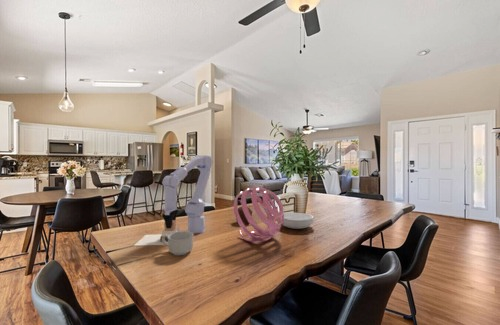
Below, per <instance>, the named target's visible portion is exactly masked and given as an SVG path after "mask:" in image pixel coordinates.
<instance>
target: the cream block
mask: <svg viewBox="0 0 500 325" xmlns="http://www.w3.org/2000/svg"><path fill="white" fill-rule="evenodd" d="M179 231H180V227H179V226H176V228H175V229H174V230H171V231H164V229H162V231H161V234H162V236H164V235H170V234H172V233H174V232H179Z"/></svg>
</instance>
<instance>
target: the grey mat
mask: <svg viewBox="0 0 500 325" xmlns="http://www.w3.org/2000/svg"><path fill="white" fill-rule="evenodd" d="M161 236H162V233H160V234H145V235H144V236H142V238H140V240H138V241H137V242H136V243H135V244H134V245H133V247H135V246H136V247H137V246H166V245H165V244H164V243H163V242H160V237H161ZM167 243H168V242H167Z"/></svg>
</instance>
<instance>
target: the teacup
mask: <svg viewBox="0 0 500 325" xmlns="http://www.w3.org/2000/svg"><path fill="white" fill-rule="evenodd" d="M165 237H167V238H168V243H167V242H166V241H165ZM162 242H163V243H164V244H165V245H164V246H166V247H167V248H168V251H169V252H170V253H172V255H174V256H179V257H180V256H185V255H187V254H188V253H189V252H190V251H191V250H193V246H194V233H191V232H188V231H187V230H181V231H180V230H179V232H174V233H172V234H170V235H164V236H163V237H162Z"/></svg>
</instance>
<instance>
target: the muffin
mask: <svg viewBox="0 0 500 325" xmlns="http://www.w3.org/2000/svg"><path fill="white" fill-rule="evenodd" d="M237 208H238V212H239V215H240V218H241V220H242V222H243V223H244V225H248V224H250V223H249V222H248V220H247V218H246V217H245V214H244V212H243V209H242V206H240V207H237ZM247 208H248V210H249V213H250V215H251V216H252V215H253V210H252V209H251V208H250V207H248V206H247ZM235 220H236V223H237V224H238V225H239V223H238V221H237V219H236V218H235Z"/></svg>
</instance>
